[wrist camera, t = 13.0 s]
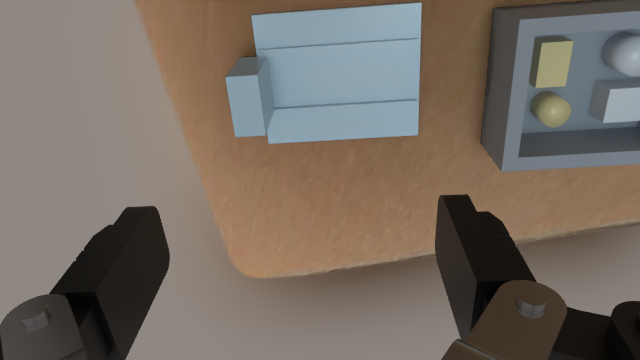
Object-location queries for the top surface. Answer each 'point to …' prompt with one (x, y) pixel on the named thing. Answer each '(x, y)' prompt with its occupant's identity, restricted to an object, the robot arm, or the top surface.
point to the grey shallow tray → (563, 85)
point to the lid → (330, 75)
